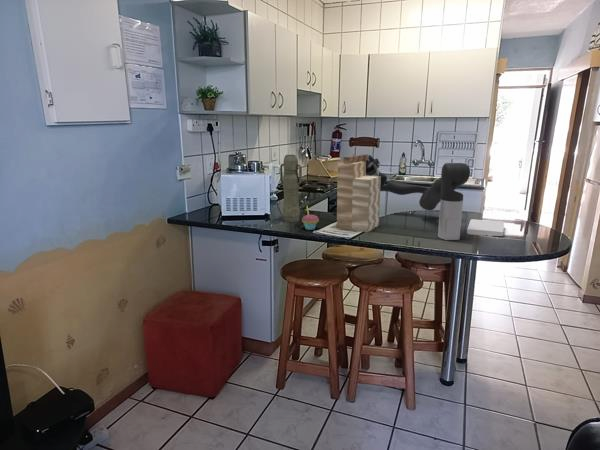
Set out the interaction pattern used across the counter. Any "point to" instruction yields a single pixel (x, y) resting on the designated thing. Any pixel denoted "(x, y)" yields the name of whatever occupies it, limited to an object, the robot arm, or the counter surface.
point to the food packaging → (485, 228)
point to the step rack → (357, 197)
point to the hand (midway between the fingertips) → (361, 156)
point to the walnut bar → (355, 158)
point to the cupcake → (310, 221)
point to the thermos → (291, 188)
